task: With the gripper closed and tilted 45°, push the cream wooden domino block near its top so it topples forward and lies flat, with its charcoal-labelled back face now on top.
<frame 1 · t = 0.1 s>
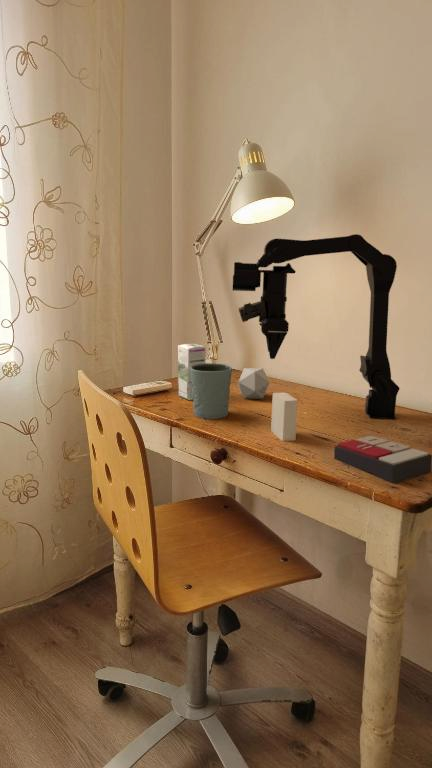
hand: (271, 355, 144), 15 cm above the table, tool pointing down, fingers open, 9 cm apart
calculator: (380, 467, 113), on the table
die: (252, 398, 161), on the table
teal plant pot: (210, 414, 144), on the table
cream domino block: (282, 435, 129), on the table
syrup box: (191, 397, 160), on the table
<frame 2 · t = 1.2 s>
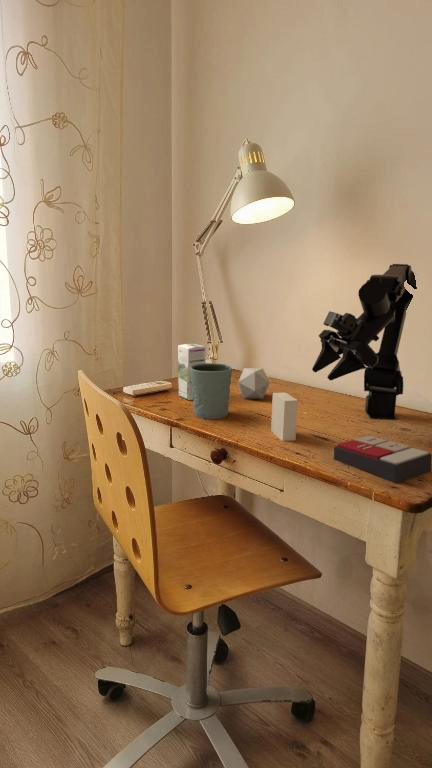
hand: (320, 374, 128), 13 cm above the table, tool tilted 45°, fingers open, 8 cm apart
nothing on the table moved.
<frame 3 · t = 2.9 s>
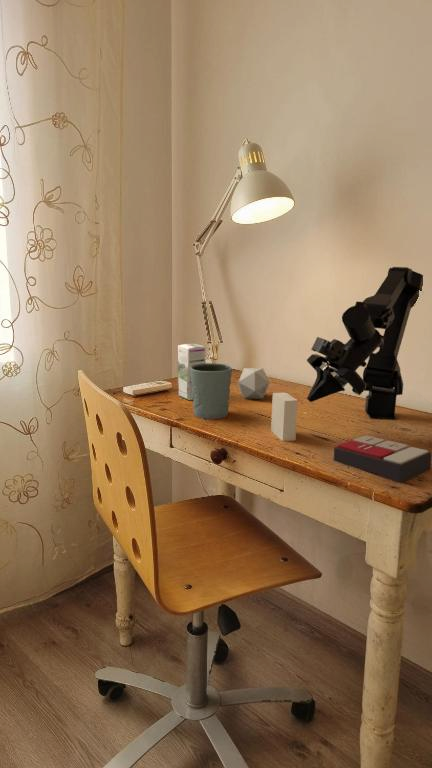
hand: (308, 400, 128), 8 cm above the table, tool tilted 45°, fingers closed
nothing on the table moved.
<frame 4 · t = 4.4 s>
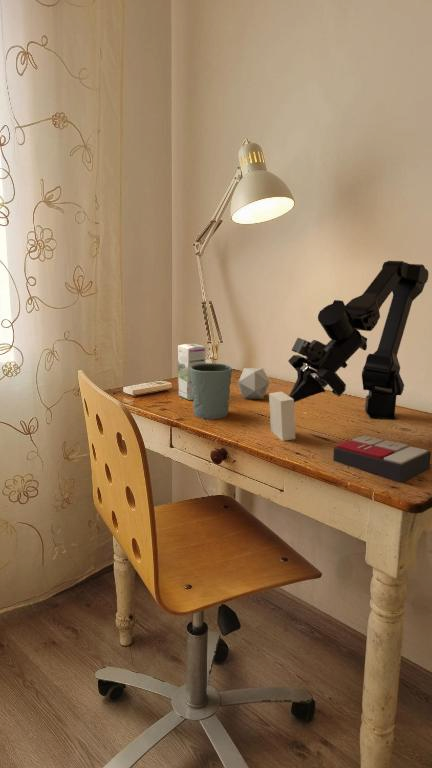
hand: (289, 401, 127), 8 cm above the table, tool tilted 45°, fingers closed
cream domino block: (282, 434, 129), on the table, tilted 6°
everything else where it was.
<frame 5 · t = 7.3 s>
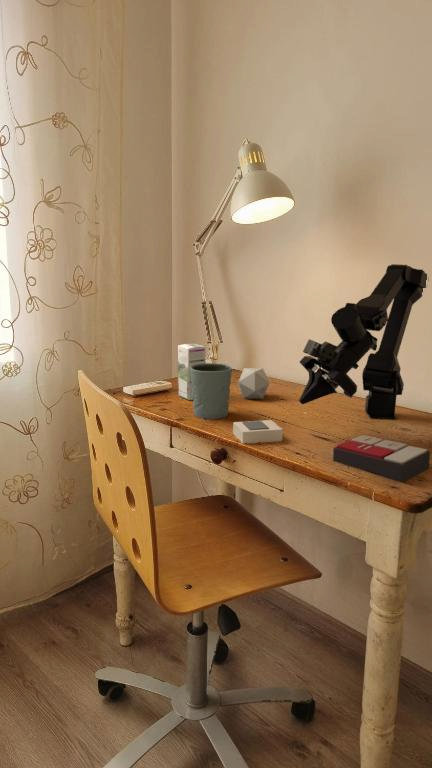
hand: (300, 402, 128), 7 cm above the table, tool tilted 45°, fingers closed
cream domino block: (276, 431, 128), point 1 cm above the table, tilted 90°
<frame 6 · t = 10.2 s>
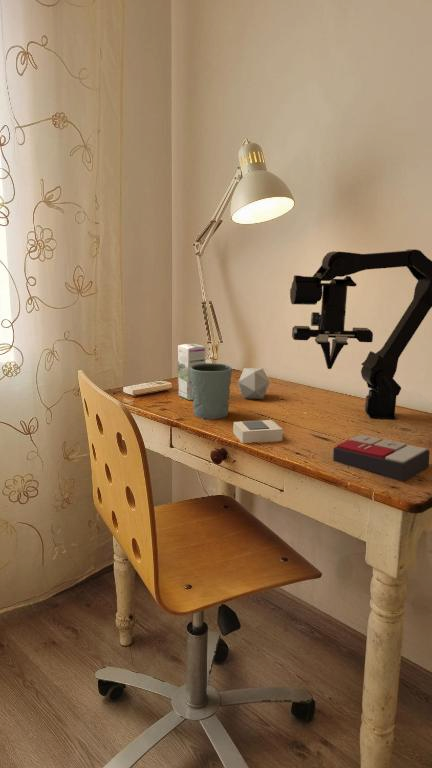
hand: (329, 368, 142), 12 cm above the table, tool pointing down, fingers closed
at the end: cream domino block tilted 90°; cream domino block inside the target area (1.7 cm from its centre), point 1.1 cm above the table; the gripper is holding nothing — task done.
